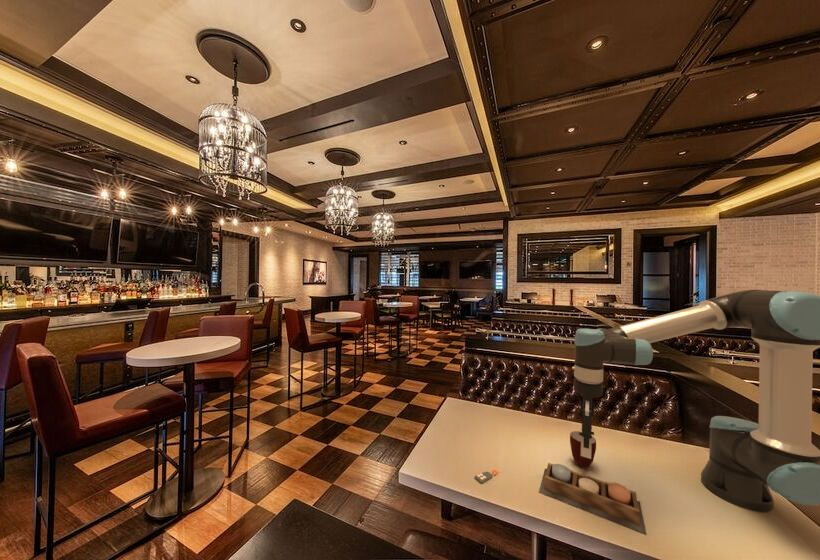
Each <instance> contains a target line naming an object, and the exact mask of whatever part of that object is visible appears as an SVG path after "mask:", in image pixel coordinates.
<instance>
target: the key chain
mask: <svg viewBox="0 0 820 560" xmlns="http://www.w3.org/2000/svg"><path fill="white" fill-rule="evenodd" d="M500 473H502V471H497V470H496V469H492V470H491V472H489V471H483V472H482V473H479V474H477V475H475V476H474V480H475V481H477V482H478V483H479V484H481V485H483V484H485V483H487V482H488V481H490V480H491V479H493V477H494V476H498V475H499V474H500Z"/></svg>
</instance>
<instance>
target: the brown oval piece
mask: <svg viewBox="0 0 820 560" xmlns="http://www.w3.org/2000/svg"><path fill="white" fill-rule="evenodd" d="M608 483H609V484H608V498H609V499H612V500H614V501H617V502H620V503H623V504H625V505H628V506H630V491H629V490H630V489H629V488H627V487H626V486H624V485H623V484H621V483H618V482H608Z"/></svg>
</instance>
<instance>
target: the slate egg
mask: <svg viewBox="0 0 820 560" xmlns="http://www.w3.org/2000/svg"><path fill="white" fill-rule="evenodd" d="M570 470H571V469H570V468H569V467H568V466H566V465H564V464H561V463H554V465H553V466H552V478H554V479H557V480H559V481H562V482H565V483H568V484H570V474H571V472H570Z"/></svg>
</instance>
